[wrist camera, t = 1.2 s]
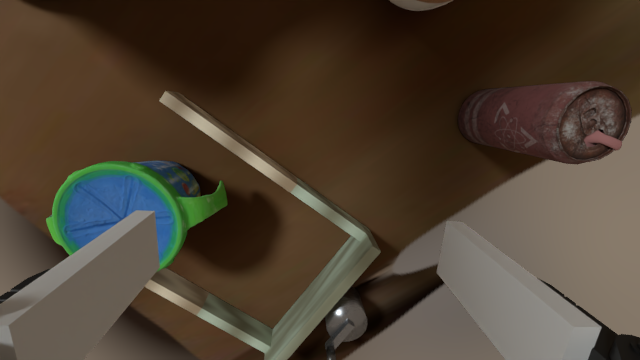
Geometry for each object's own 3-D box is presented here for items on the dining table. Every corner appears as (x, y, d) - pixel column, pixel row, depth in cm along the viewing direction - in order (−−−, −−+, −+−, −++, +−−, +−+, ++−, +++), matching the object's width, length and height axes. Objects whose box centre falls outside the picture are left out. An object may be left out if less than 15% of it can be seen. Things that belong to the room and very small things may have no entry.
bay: (87, 233, 35) (45, 258, 29) (177, 92, 32) (150, 89, 26) (274, 339, 41) (270, 378, 35) (368, 228, 37) (381, 251, 31)
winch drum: (309, 311, 40) (311, 356, 33) (339, 277, 39) (347, 316, 32) (338, 329, 41) (346, 375, 34) (367, 296, 40) (381, 337, 33)
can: (490, 151, 36) (606, 180, 22) (446, 130, 35) (539, 147, 21) (517, 103, 34) (658, 104, 21) (472, 80, 33) (588, 65, 20)
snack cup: (233, 144, 34) (205, 161, 24) (241, 229, 36) (218, 276, 26) (91, 147, 33) (0, 167, 23) (109, 234, 35) (36, 285, 26)
